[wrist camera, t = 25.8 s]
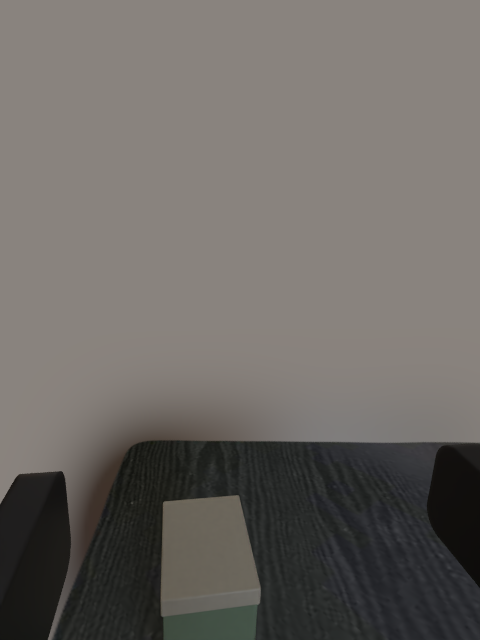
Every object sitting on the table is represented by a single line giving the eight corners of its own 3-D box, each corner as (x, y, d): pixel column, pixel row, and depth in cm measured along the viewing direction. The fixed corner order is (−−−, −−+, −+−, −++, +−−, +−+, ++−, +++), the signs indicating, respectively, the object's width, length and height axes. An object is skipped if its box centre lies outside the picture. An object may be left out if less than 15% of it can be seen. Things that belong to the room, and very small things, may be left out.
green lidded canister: (232, 635, 29) (238, 494, 26) (250, 755, 22) (261, 588, 19) (165, 644, 28) (163, 500, 25) (163, 773, 22) (160, 601, 18)
